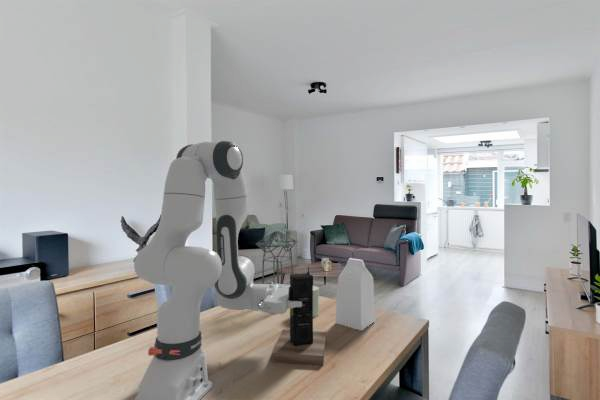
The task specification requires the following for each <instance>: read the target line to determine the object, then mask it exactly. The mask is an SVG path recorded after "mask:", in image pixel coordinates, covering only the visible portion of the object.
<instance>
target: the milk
mask: <svg viewBox="0 0 600 400" xmlns="http://www.w3.org/2000/svg"><path fill="white" fill-rule="evenodd" d="M336 289H337V291H336V302H335V303H336V305H335V306H336V308H335V324H338V325H340V324H341V325H340V326H343V325H344V327H347V326H348V327H347V328H350V327H351V328H350V329H354V330H357V329H358V331H361V330H362V331H364V330H365V329H367V328H368V327H370V326H371V325H372V323H373V322H374V321H375V322H376V305H375V285H374V276H373V274H372V273H371V272H370V271H369V270H368V268H367V267H366V264H365V262H364V260H363V259H359V258H354V257H353V258H352V257H350V258H348V260H347V262H346V264H345V266H344V268H343V269H342V271H341V272H340V274H339V276H338V278H337V287H336ZM375 322H374V323H375ZM374 323H373V324H374ZM370 324H371V325H370ZM369 325H370V326H369ZM367 326H368V327H367ZM366 327H367V328H366ZM364 328H365V329H364Z"/></svg>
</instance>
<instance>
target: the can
mask: <svg viewBox="0 0 600 400" xmlns="http://www.w3.org/2000/svg"><path fill="white" fill-rule="evenodd" d="M319 299H320V287H319V286H318V285H317V286H316V285H313V317H314V318H317V317H318V316H319V315H320V311H319V310H320V309H319V308H320V302H319V301H320V300H319Z"/></svg>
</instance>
